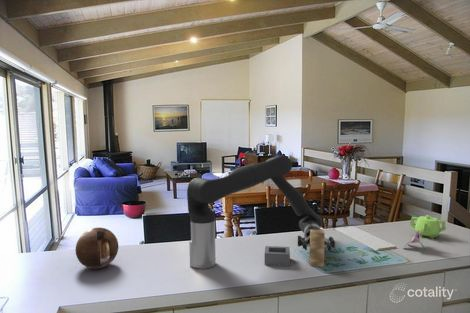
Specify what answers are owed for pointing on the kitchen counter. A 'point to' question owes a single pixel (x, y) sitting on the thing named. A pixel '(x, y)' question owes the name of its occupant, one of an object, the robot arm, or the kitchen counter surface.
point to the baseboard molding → (365, 238)
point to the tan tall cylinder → (317, 247)
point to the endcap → (277, 256)
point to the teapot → (428, 226)
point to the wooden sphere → (96, 248)
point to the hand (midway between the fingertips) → (317, 248)
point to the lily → (416, 238)
